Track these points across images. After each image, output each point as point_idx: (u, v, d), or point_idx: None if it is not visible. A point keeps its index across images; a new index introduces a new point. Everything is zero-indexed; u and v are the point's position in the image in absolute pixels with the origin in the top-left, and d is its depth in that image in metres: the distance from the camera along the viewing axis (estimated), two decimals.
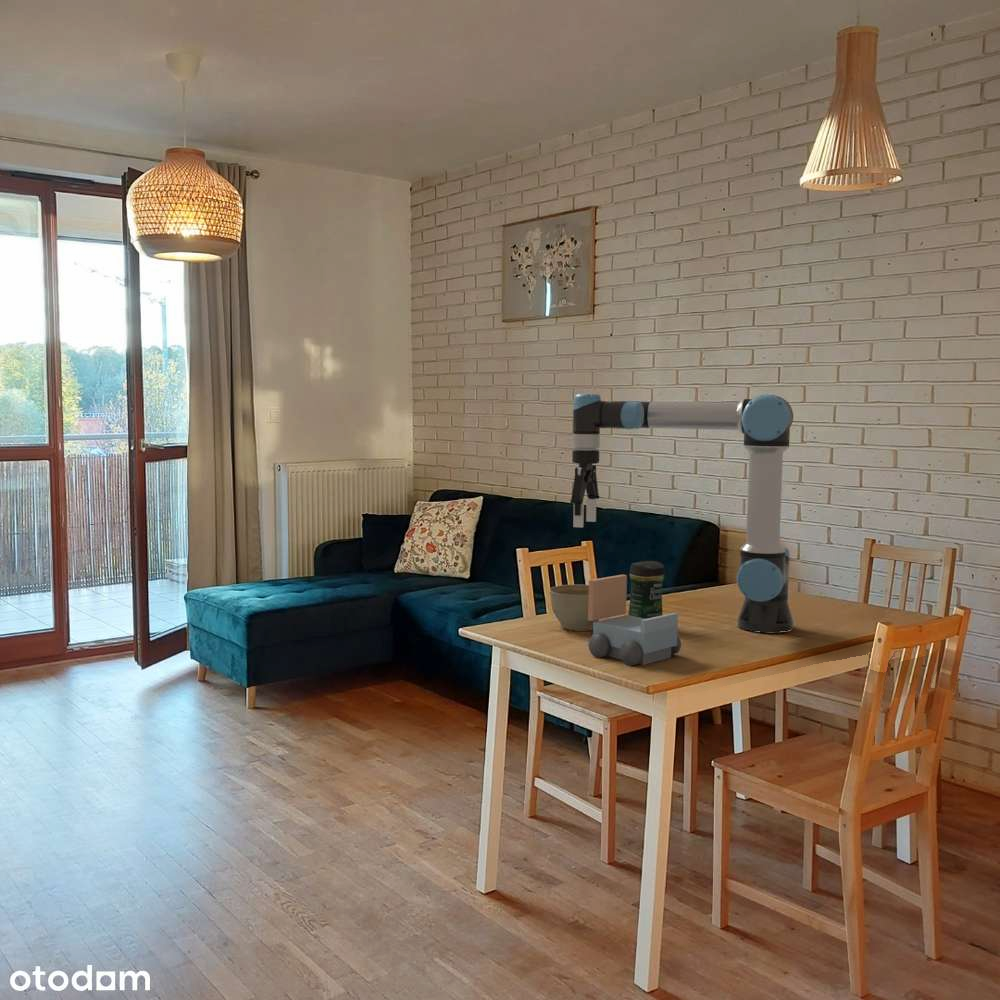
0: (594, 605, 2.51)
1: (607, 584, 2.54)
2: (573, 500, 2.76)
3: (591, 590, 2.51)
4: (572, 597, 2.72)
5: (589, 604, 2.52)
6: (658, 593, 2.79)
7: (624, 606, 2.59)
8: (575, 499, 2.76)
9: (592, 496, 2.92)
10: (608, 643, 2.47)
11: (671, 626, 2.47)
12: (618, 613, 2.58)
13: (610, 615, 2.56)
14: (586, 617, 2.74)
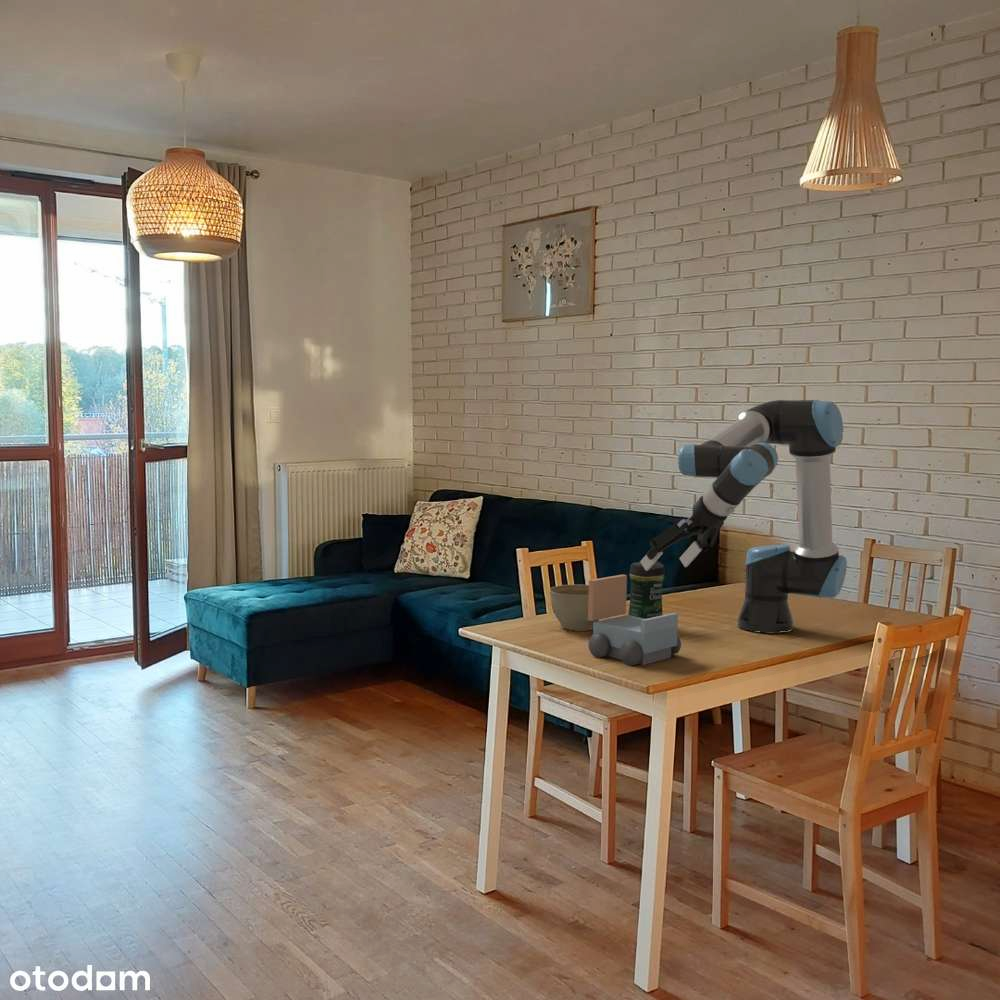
0: (594, 605, 2.51)
1: (607, 584, 2.54)
2: None
3: (591, 590, 2.51)
4: (572, 597, 2.72)
5: (589, 604, 2.52)
6: (658, 593, 2.79)
7: (624, 606, 2.59)
8: None
9: None
10: (608, 643, 2.47)
11: (671, 626, 2.47)
12: (618, 613, 2.58)
13: (610, 615, 2.56)
14: (586, 617, 2.74)
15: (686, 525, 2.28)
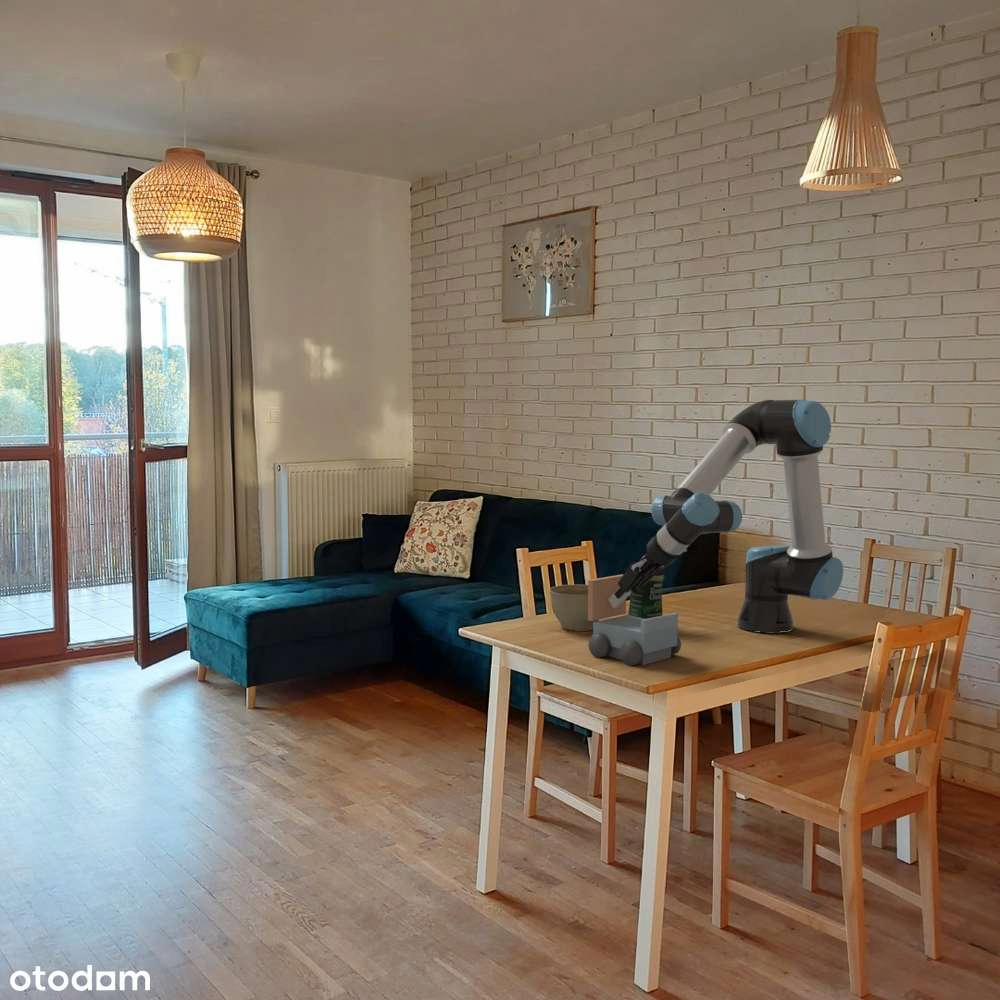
0: (594, 605, 2.51)
1: (606, 584, 2.54)
2: None
3: (590, 590, 2.51)
4: (572, 597, 2.72)
5: (589, 604, 2.52)
6: (658, 593, 2.79)
7: (624, 606, 2.59)
8: None
9: None
10: (608, 643, 2.47)
11: (671, 626, 2.47)
12: (618, 613, 2.58)
13: (610, 615, 2.56)
14: (586, 617, 2.74)
15: (637, 570, 2.40)
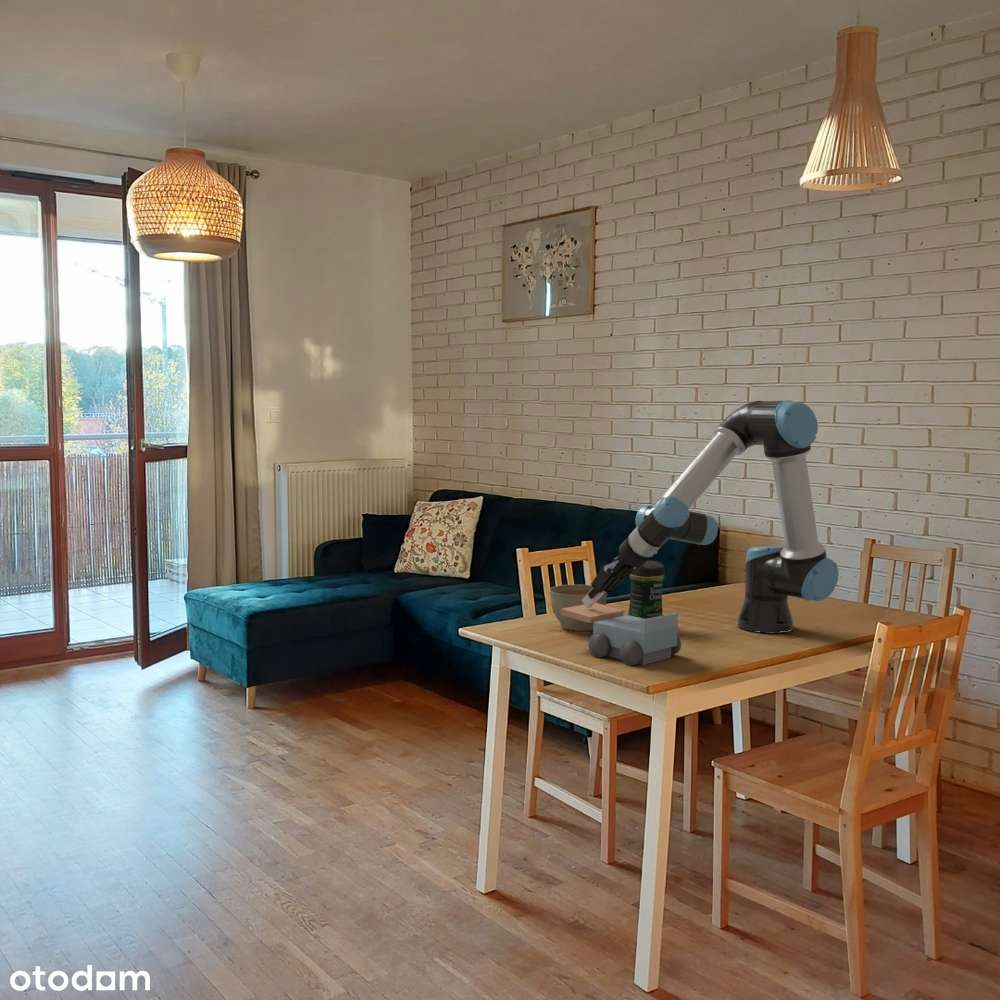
0: (580, 613, 2.55)
1: (579, 607, 2.61)
2: None
3: (568, 613, 2.57)
4: (572, 597, 2.72)
5: (578, 618, 2.55)
6: (658, 593, 2.79)
7: (616, 609, 2.62)
8: None
9: None
10: (608, 643, 2.47)
11: (671, 626, 2.47)
12: (614, 611, 2.59)
13: (607, 613, 2.57)
14: None
15: (609, 571, 2.47)
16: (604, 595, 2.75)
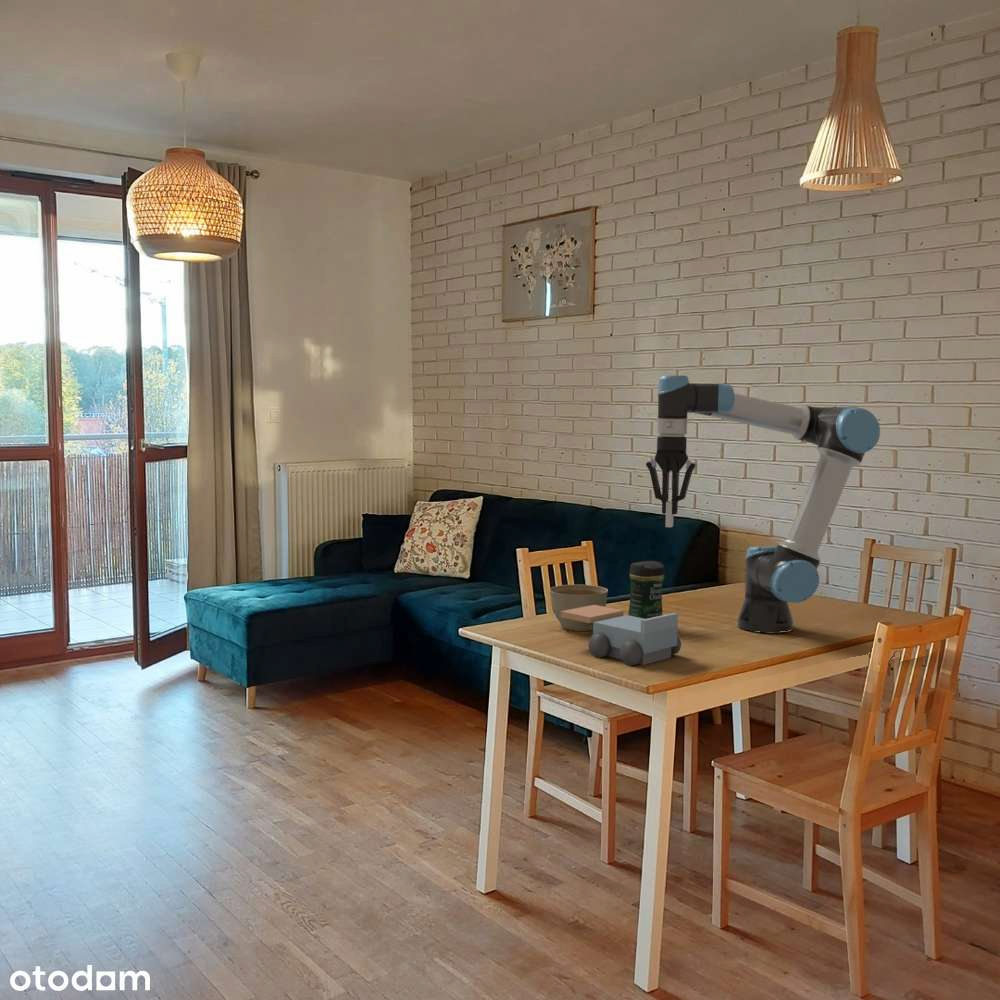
0: (580, 614, 2.55)
1: (579, 609, 2.61)
2: (683, 498, 2.60)
3: (567, 615, 2.57)
4: (572, 597, 2.72)
5: (578, 619, 2.55)
6: (658, 593, 2.79)
7: (615, 609, 2.62)
8: (684, 496, 2.61)
9: (667, 498, 2.63)
10: (608, 643, 2.47)
11: (671, 626, 2.47)
12: (614, 611, 2.59)
13: (607, 613, 2.57)
14: None
15: (646, 463, 2.62)
16: (604, 595, 2.75)
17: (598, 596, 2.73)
